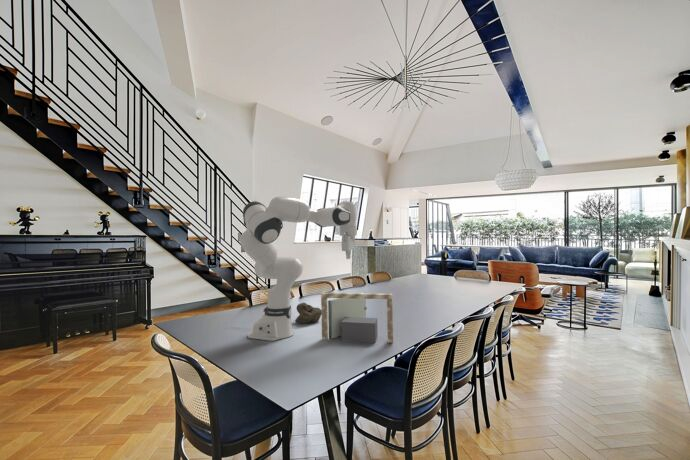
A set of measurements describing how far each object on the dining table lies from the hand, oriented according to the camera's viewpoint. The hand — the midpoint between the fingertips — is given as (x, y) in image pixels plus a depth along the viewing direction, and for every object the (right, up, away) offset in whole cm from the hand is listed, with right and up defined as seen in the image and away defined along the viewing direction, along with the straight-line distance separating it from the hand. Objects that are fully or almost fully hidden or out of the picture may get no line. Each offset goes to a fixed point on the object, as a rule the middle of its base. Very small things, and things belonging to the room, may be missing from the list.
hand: (348, 258), depth 161 cm
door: (0, -37, -5) cm, 37 cm away
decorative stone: (-23, -38, +17) cm, 47 cm away
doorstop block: (+5, -37, -14) cm, 40 cm away
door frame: (+5, -37, -17) cm, 41 cm away
